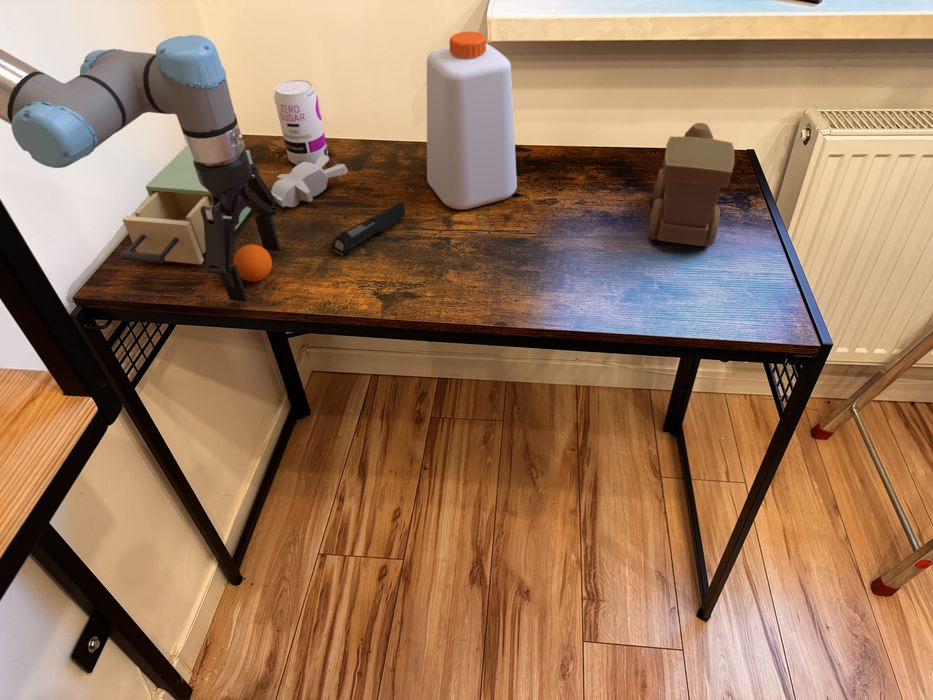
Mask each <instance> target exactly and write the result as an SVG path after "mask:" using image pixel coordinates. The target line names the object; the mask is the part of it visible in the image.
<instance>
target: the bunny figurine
mask: <svg viewBox="0 0 933 700" xmlns="http://www.w3.org/2000/svg"><path fill="white" fill-rule="evenodd" d="M329 162H330V157H329V156H328V154H327V155H322V156H320V157H319V159H318V160H317V162H316V163H315V164H313V163H308V162H302V163H300V164H298V165H295V166H294V167H293V168H292V169H291V172H289V173H280V174H279V175H278V176H276V178H277V180H276V181H275V182H274V183H273V185H272V186H271V187H272V188H271V190H270V192H271V193H272V194H273V196H274V197H275V199H276V204H277V205H278V206H280V207H282V208H284V207H289V208H295V207H297V206H298V205H300V202H301V201H304V202H308V203H311V202H314V198H313V197H316V196H318V195H320V194H321V193H323V192H324V191H325V190H326V189H327V185H328V181H329V179H330V178H335V177H339V176H343V175H347V174H348V172H349V170H348V168H347V166H346V164H345V163H339V164H335V165H334V166H331V167H329V168H326V169H324V167H325V166H326V165H327V164H328V163H329Z"/></svg>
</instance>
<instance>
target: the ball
mask: <svg viewBox="0 0 933 700" xmlns="http://www.w3.org/2000/svg"><path fill="white" fill-rule="evenodd" d="M271 256H272V255H270V253H269V252H268V250H265V249H264V248H263V246H261V245H258V244H252V243H251V244H246V245H244V246H241V247H240V248H239V249H238V250H237V251H236V252H235V254H234V255H233V265H237V268H238V271H239V274H240V277H241V279H242V280H244V281H247V282H252V283H253V282H259V281H262V280H264V279H266V278H267V277H268V276H269V275H270V273H271V271H272V267H273V260H272V257H271Z"/></svg>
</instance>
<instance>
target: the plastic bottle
mask: <svg viewBox="0 0 933 700" xmlns="http://www.w3.org/2000/svg"><path fill="white" fill-rule="evenodd" d="M517 178H518V177H517V160H516V139H515V119H514V101H513V79H512V65H511V62H510V60H509V58H507V57H506V56H505V55H504V54H503V53H501V52H500V51H499V50H497V48H495V47H493V46H492V45H490V44H488V43H487V38H486V37H485V35H484V34H482V33H481V32H478V31H460V32H457V33H455V34H453V35H451V36H450V38H449V46H447V47H442V48H437V49H435V50H433V51H431V52H430V53H429V54H428V55H427V58H426V181H427V184H428V185H429V186H430V188H431V189H432V190H433V191H434V193H435V194H436V195H437V197H438V198H439V199H440V200H441V202H442V203H443V204H444V205H445V206H447V207H448V208H451V209H453V210H470V209H473V208H478V207H480V206H485V205H489V204H493V203H497V202H500V201H504V200H506V199H509V198H510V197H512V196H513V195H514V194H515V193H516V191H517V187H518V179H517Z"/></svg>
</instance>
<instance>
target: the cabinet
mask: <svg viewBox="0 0 933 700" xmlns="http://www.w3.org/2000/svg"><path fill="white" fill-rule="evenodd" d="M244 150H245V151H246V152H247V156H248V159H249V163H250V164H254V162H253V160H252V159H253V158H252V156H251V152H250V150H247V149H244ZM193 162H194V160H193V159H192V158H191V157H190V154H189V151H188V148H187V145H186V146H185V147H184V148H183V149H182V150H181V151H180V152H179V153H177V155H176V156H175V157H173V159H171V161H169V163H167V164H166V165H165V166H164V167H163V168H162V169H161V171H159V172H158V173H157V174H156V176H154V177H153V178H152V179H151V180H150V181H149V182H148V183H147V184H146V185H145V188H146V191H147V194H148V196H149V198H150V197H151V196H152V195H153V194H154V193H155V192H156V191H162V192H174V193H187V194H199V195H210V196H211V193H210V192H209V191H208V190H207V189H206V188H205V187H203V186H202V185H201V183H200V181H199V178H198V176H197V173H196V170H195V167H194V164H193ZM251 211H252V210H251V209H250V208H248V207H247V206H246V208H245V209H243V210H242V212H241V214H240V215H239V224H238V225H236V227H235V231H237V229H238V228H239V226H240V225H242V223H243V221H244V220H245V219H246V218H247V216H248V215H249V213H250V212H251ZM223 218H224V219H231V218H232V217H228V216H225V215H224V217H223Z"/></svg>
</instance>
